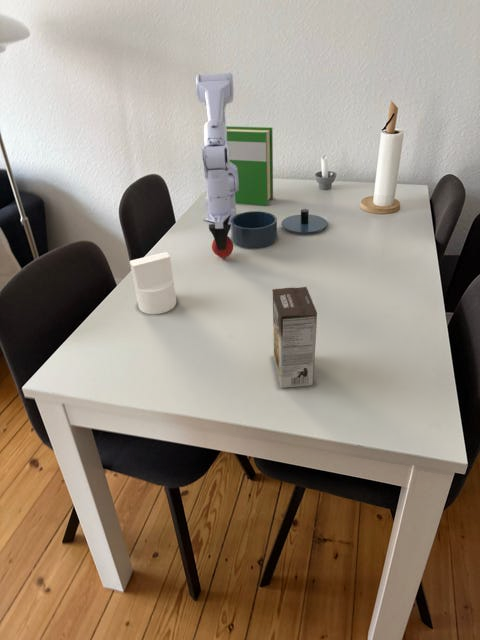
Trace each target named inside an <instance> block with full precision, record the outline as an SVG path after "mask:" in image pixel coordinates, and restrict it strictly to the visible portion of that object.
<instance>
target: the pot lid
mask: <svg viewBox="0 0 480 640" xmlns="http://www.w3.org/2000/svg"><path fill="white" fill-rule="evenodd" d="M309 211H310V210H309V209H308V208H307V209H306V208H302V209H301V210H300V213H299V214H293V215H289V216H287V217H285V218H283V219H282V220H281V222H280V223H281V224H280V225H281V228H282V229H283V230H285V231H287V232H290V233H294V234H299V235H300V234H303V235H305V234H315V233H320V232H322V231H325V229H327V227H328V223H329V222H328V221H327V219H326V218H324V217H322V216H320V215H316V214H310V212H309Z"/></svg>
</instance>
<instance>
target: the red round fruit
mask: <svg viewBox="0 0 480 640" xmlns="http://www.w3.org/2000/svg"><path fill="white" fill-rule="evenodd" d="M211 249H212V252H213V254H215V255H216V256H217V257H218V258H220V259H222V260H225V259H226V258H228V257H229V256H230V255H231V254H232V253H233V252H234V251H233V250H234V243H233V241H232V238H231V237H229V235H228V236H227V244H226V249H225V250H218V249H217V246H216V242H215V239H214V238H213V240H212V243H211Z"/></svg>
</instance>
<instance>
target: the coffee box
mask: <svg viewBox="0 0 480 640" xmlns="http://www.w3.org/2000/svg"><path fill="white" fill-rule="evenodd" d="M272 320H273V321H272V322H273V324H272V325H273V359H274V364H275V369H276V373H277V378H278V382H279V386H280V388H281V389H286V388H297V387H307V386H313V385H314V376H315V359H316V345H317V344H316V343H317V325H318V312H317V309H316V307H315V304H314V302H313V299H312V297H311V294H310V293H309V290H308V287H307V286H300V287H282V288H281V287H280V288H273V289H272Z"/></svg>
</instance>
